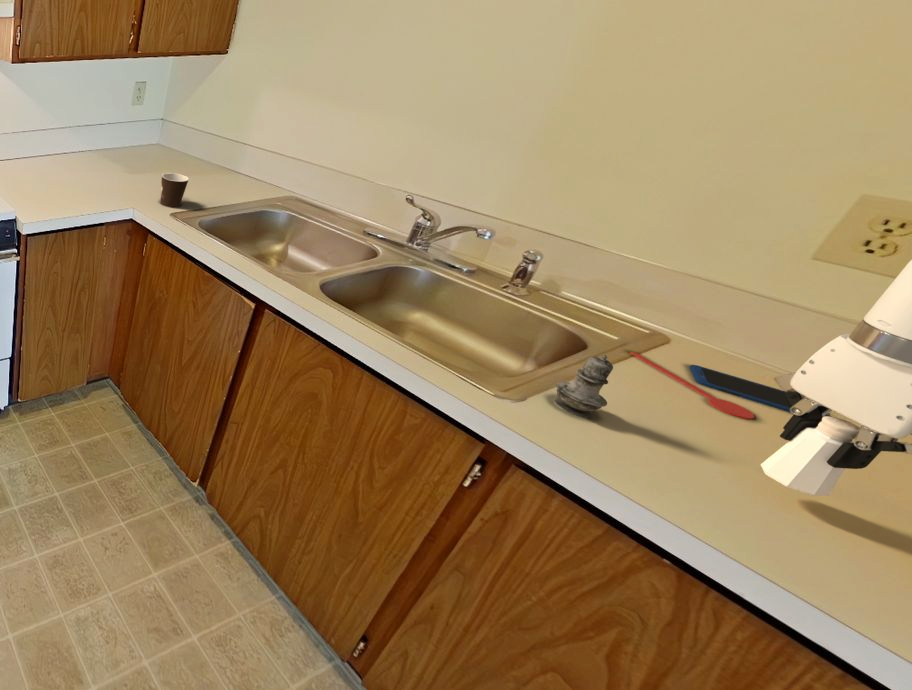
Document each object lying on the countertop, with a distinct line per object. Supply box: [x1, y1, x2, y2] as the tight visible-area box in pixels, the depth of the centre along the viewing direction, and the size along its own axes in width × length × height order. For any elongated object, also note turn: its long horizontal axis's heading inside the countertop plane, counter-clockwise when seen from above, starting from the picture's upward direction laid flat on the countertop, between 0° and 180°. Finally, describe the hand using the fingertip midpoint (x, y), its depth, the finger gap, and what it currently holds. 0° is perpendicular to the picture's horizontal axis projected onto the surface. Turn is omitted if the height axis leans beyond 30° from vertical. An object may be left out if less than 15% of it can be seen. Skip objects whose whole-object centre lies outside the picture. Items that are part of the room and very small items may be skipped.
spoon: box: [629, 352, 755, 420], centre depth 95 cm, size 17×5×1 cm, turn 175°
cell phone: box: [689, 364, 829, 417], centre depth 93 cm, size 7×14×1 cm, turn 44°
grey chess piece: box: [552, 354, 614, 419], centre depth 87 cm, size 6×6×12 cm
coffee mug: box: [160, 172, 190, 208], centre depth 176 cm, size 12×9×10 cm
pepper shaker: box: [760, 415, 861, 497], centre depth 70 cm, size 5×5×11 cm
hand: (818, 451), depth 70 cm, fingers closed on pepper shaker, 3 cm apart
